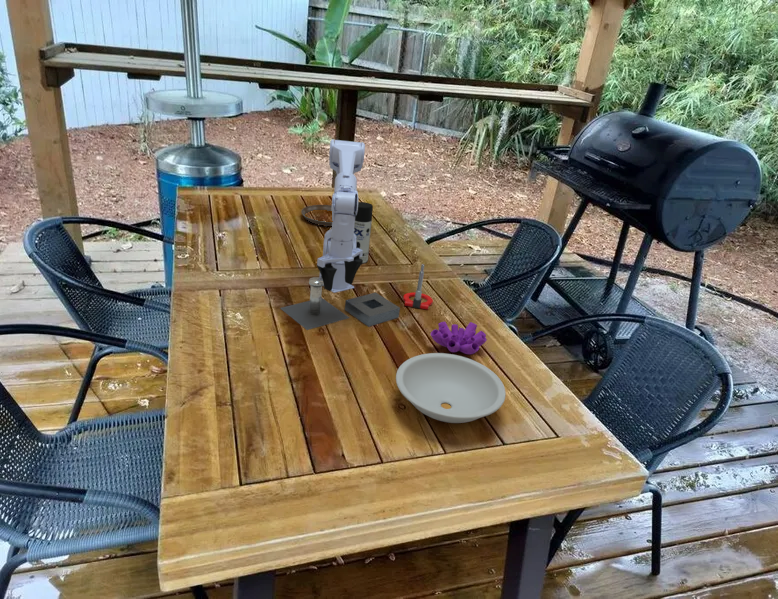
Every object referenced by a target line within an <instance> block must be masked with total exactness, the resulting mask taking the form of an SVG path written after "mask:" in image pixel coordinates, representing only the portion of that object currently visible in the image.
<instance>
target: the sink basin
mask: <svg viewBox="0 0 778 599" xmlns="http://www.w3.org/2000/svg"><path fill="white" fill-rule="evenodd" d="M395 382H396V386H397V388H398V390H399V391H400V393H401V395H402V396H403V397H404V398H405V399H406V400H407V401H409V402H410V404H412V405H413V406H414V407H415V409H417V410H418V411H419V412H420V413H422V414H423V415H425V416H427V417H429V418H431V419H434V420H437V421H439V422H442V423H443V422H444V423H448V424H449V423H450V424H461V423H462V424H463V423H469V422H473V421H476V420H478V419H480V418H484V417H487V416H490V415H492V414H494V413H495V412H497V411H498V410H499V409H500V408H501V407H502V406H503V404H504V403H505V400H506V397H507V396H506V388H505V385H504V383H503V381H502V379H501V378H500V377H499V376H498V375H497V373H495V372H494V371H493V370H491V369H490V368H489V367H487V366H486V365H484V364H482V363H480V362H478V361H476V360H473V359H471V358H468V357H466V356H462V355H457V354H453V353H452V354H451V353H444V352H431V353H430V352H429V353H422V354H419V355H415V356H412V357H411V358H408V359H407V360H405V361H403V363H402V364H400V366H399V367H398V369H397V371H396V375H395ZM442 404H448V405H450V408H445V407H443V406H442Z"/></svg>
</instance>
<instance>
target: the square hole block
mask: <svg viewBox="0 0 778 599" xmlns="http://www.w3.org/2000/svg"><path fill="white" fill-rule="evenodd" d="M400 310H401V307H400V306H398V305H396V304H395V303H393V302H392V301H390V300H388V299H387V298H385V297H384V296H382V295H380V294H379V293H377V292H373V293H369V294H368V293H367V294H365V295H361V296H360V295H359V296H357V297H352V298H347V299H345V302H344V311H345V312H347V313H348V314H350V315H351V316H352V317H354V318H355V319H357V320H358V321H359V322H361V323H362V324H364V325H365V326H366V327H368V328H369V327H372V326H375V325H379V324H382V323H386V322H389V321H392V320H396V319H399V318H400V312H401V311H400Z"/></svg>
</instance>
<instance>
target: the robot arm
mask: <svg viewBox="0 0 778 599" xmlns="http://www.w3.org/2000/svg"><path fill="white" fill-rule="evenodd" d="M365 149H366V145H365V143H364V142H363V141H361V142H359V141H349V140H340V139H334V138H332V139H331V140H330V142H329V154H328V161H329V163H328V164H329V168H330V169H331V170H333V171H335V173H336V175H335V177H334V178H335V179H334V189H333V190H334V191H333V193H332V196H331V206H332V208H331V211H332V221H333V222H332V227H331V228H330V229H329V230H327V231H326V232H325V233H324V239H323V246H322V247H323V250H322V256H321V257H317V261H316V267H317V269H318V272H319V276H318V278H322V279H323V283H324V285H323V286H322V287H324V290H326V291H328V292H332V293H334V294H335V293H339V292H344V291H348V290H351V289H355V286H354V285H352V284H353V283H354V279H355V277H356V274H357V272H358V270H359V268H360V267H361V266H362V265H363V264H364V263H363V260H362V259H360V258H359V257H362V255H363V250H361V249H359V248H356V235H355V234H354V224H355V215H354V211H355V213H356V215H357V211H358V202H359V192H358V188H357V187H358V186H357V185H358V180H357V177H356V175H355V174H356V173H358V172H361V171H362V169H363V165H364V160H365V151H366V150H365Z"/></svg>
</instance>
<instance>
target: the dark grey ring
mask: <svg viewBox="0 0 778 599" xmlns="http://www.w3.org/2000/svg"><path fill="white" fill-rule="evenodd" d="M331 208H332V204H314V205H313V204H312V205H309V206H305V207H303V208H302V209H301V215H302V216H303V218H304V219H305V220H306V221H307V220H308V221H307V222H309V221H310V222H312V223H315V224H319V225H325V226H324V227H327V226H332V222H325V221H318V220H314V219H311V218H308V217H306V216H305V214H306V213H308V212H310V211H313V210H327V211H331ZM310 222H309V223H310ZM312 223H311V224H312ZM315 224H314V225H315ZM319 225H318V226H319Z"/></svg>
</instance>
